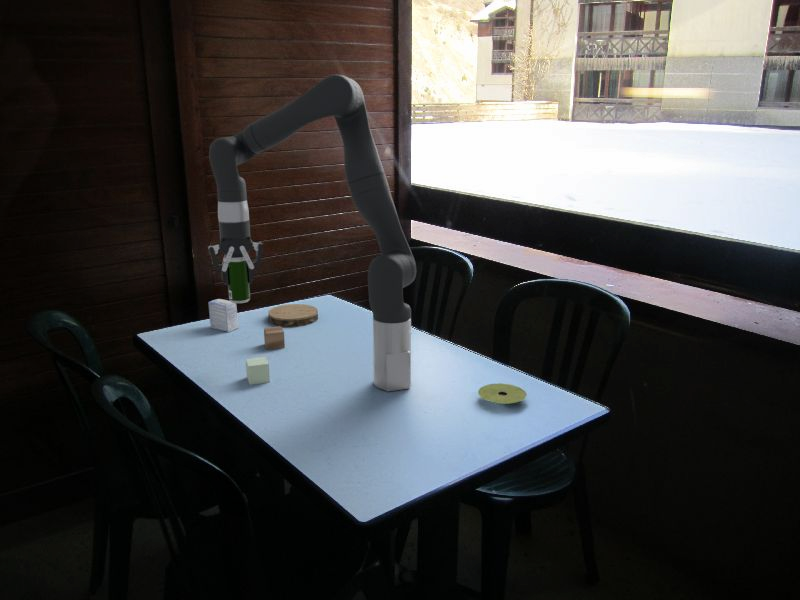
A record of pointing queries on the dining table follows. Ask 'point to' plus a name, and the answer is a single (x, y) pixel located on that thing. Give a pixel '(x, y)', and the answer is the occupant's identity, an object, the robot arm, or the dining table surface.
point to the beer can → (238, 280)
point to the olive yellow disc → (502, 393)
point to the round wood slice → (293, 315)
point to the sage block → (257, 370)
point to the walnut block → (274, 338)
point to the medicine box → (223, 315)
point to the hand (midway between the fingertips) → (238, 283)
